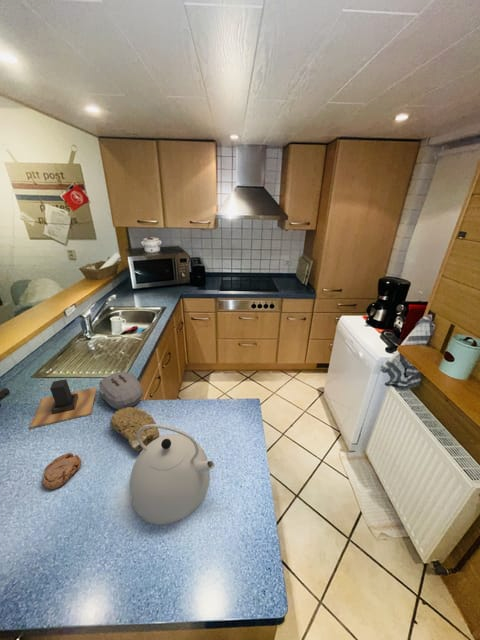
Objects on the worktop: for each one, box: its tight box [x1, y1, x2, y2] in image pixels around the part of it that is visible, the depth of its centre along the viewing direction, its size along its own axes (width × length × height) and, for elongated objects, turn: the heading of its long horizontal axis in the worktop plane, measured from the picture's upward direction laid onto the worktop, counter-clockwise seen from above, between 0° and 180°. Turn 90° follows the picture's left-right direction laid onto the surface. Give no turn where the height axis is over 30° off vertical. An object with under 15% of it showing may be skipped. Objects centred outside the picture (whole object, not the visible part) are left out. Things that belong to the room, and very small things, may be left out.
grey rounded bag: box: [98, 370, 144, 411], centre depth 106 cm, size 15×8×20 cm
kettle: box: [129, 423, 216, 525], centre depth 70 cm, size 25×23×22 cm
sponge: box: [109, 406, 160, 452], centre depth 89 cm, size 13×8×20 cm
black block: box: [49, 378, 73, 408], centre depth 99 cm, size 4×4×11 cm
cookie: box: [42, 452, 82, 490], centre depth 76 cm, size 10×11×3 cm
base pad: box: [28, 387, 97, 430], centre depth 101 cm, size 20×16×3 cm
